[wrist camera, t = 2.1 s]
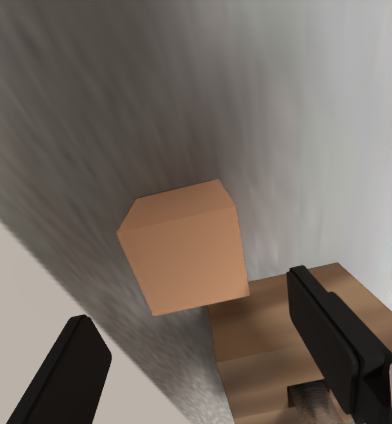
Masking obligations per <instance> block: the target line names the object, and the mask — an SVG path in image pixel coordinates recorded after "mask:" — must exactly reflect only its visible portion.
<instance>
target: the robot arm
mask: <svg viewBox="0 0 392 424" xmlns="http://www.w3.org/2000/svg"><path fill="white" fill-rule="evenodd" d="M286 276H287V289H288V302H289V314H290V318H291V321H292V323H293V324H294V326H295V328H296V330H297V331H298V333H299V335H300V337H301V338H302V340H303V342H304V344H305V346H306V347H307V349H308V351H309V353H310V354H311V356H312V358H313V360H314V361H315V363H316V365H317V367H318V368H319V370H320V372H321V374H322V375H323V377H324V379H325V381H326V382H327V384H328V386H329V388H330V389H331V391H332V393H333V395H334V396H335V398H336V400H337V402H338V403H339V405H340V407H341V409H342V410H343V412H344V413H345V414H346V415H349V414H350V415H351V416H352V418H353V420H354V422H355V423H356V424H364V423H366V424H392V352H391V351H390V350H389V349H388V348H387V347H386V346H385V345H384V344H383V343H382V342H381V340H380V339H379V338H378V337H377V336H376V335H375V334H374V333H373V332H372V331H371V330H370V329H369V328H368V327H367V326H366V325H365V323H364V322H363V321H362V320H361V319H360V318H359V317H358V316H357V315H356V314H355V313H354V312H353V311H352V310H351V309H350V308H349V306H348V305H347V304H346V303H345V302H344V301H343V300H342V299H341V298H340V297H339V296H338V295H337V294H336V293H334V292H327V291H326V289H325V288H324V287H323V286H322V285H321V284H320V283H319V282H318V280H317V279H316V278H315V277H314V276H313V275H312V274H311V273H310V272H309V270H308V269H307V268H306V267H305V266H303V265H301V266H297V267H292V268H290V272H287V273H286ZM111 360H112V355H111V352H110V350H109V349H108V347H107V345H106V344H105V342H104V340H103V339H102V337H101V335H100V333H99V332H98V330H97V328H96V327H95V325H94V323H93V322H92V320H91V318H90V317H87V316H86V315H85V314H84V315H79V316H75V317H71V318H70V319H69V320H68V322H67V324H66V325H65V327H64V328H63V330H62V332H61V334H60V335H59V337H58V339H57V340H56V342H55V343H54V345H53V347H52V349H51V350H50V352H49V353H48V355H47V357H46V359H45V360H44V362H43V363H42V365H41V367H40V368H39V370H38V372H37V373H36V375H35V377H34V378H33V380H32V382H31V383H30V385H29V387H28V388H27V390H26V392H25V393H24V395H23V397H22V398H21V400H20V402H19V403H18V405H17V407H16V408H15V410H14V412H13V413H12V415H11V416H10V418H9V420H8V421H7V423H6V424H92V422H93V419H94V416H95V413H96V409H97V406H98V403H99V400H100V396H101V393H102V390H103V387H104V384H105V380H106V377H107V373H108V370H109V367H110V364H111Z"/></svg>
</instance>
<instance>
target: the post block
mask: <svg viewBox="0 0 392 424" xmlns="http://www.w3.org/2000/svg"><path fill="white" fill-rule="evenodd" d="M308 270H309V272H310V273H311V274H312V275H313V276H314V277H315V278H316V279H317V280H318V282H319V283H320V284H321V285H322V286H323V287H324V288H325V289H326V291H327V292H334V293H336V294H337V295H338V296H339V297H340V298H341V299H342V300H343V301H344V302H345V303H346V304H347V305H348V306H349V308H350V309H351V310H352V311H353V312H354V313H355V314H356V315H357V316H358V317H359V318H360V319H361V320H362V321H363V322H364V323H365V325H366V326H367V327H368V328H369V329H370V330H371V331H372V332H373V333H374V334H375V335H376V336H377V337H378V338H379V339H380V340H381V342H382V343H383V344H384V345H385V346H386V347H387V348H388V349H389V350H390V351H391V352H392V311H391V310H390V309H389V308H387V307H386V306H385V305H384V304H383V303H382V302H381V301H380V300H379V299H378V298H376V297H375V296H374V295H373V294H372V293H371V292H370V291H369V290H368V289H366V288H365V287H364V286H363V285H362V284H361V283H360V282H359V281H358V280H357V279H355V278H354V277H353V276H352V275H351V274H350V273H349V272H348V271H347V270H346V269H344V268H343V267H342V266H341V265H340V264H339V263H334V264H329V265H325V266H320V267H316V268H311V269H308ZM248 286H249V292H250V296H246V297H241V298H237V299H232V300H227V301H223V302H218V303H214V304H209V305H208V310H209V317H210V324H211V331H212V338H213V345H214V352H215V360H216V365H217V368H218V371H219V374H220V377H221V381H222V384H223V387H224V390H225V393H226V397H227V400H228V403H229V406H230V410H231V413H232V416H233V419H234V422H235V424H302V422H301V420H300V417H299V415H298V412H297V410H296V407H295V405H294V402H293V400H292V397H291V395H290V392H289V386H291V385H296V384H301V383H306V382H310V381H315V380H320V379H321V380H322V382H323V384H324V386H325V388H326V389H327V391H328V393H329V395H330V397H331V399H332V401H333V402H334V404H335V406H336V408H337V410H338V412H339V414H340V415H341V417H342V419H343V421H344V423H347V422H352V421H354V420H353V418H352V416H351V415H350V414H349V415H346V414H345V413H344V412H343V410H342V409H341V407H340V405H339V403H338V402H337V400H336V398H335V396H334V395H333V393H332V391H331V389H330V388H329V386H328V384H327V382H326V381H325V379H324V377H323V375H322V374H321V372H320V370H319V368H318V367H317V365H316V363H315V361H314V360H313V358H312V356H311V354H310V353H309V351H308V349H307V347H306V346H305V344H304V342H303V340H302V338H301V337H300V335H299V333H298V331H297V330H296V328H295V326H294V324H293V323H292V321H291V318H290V314H289V302H288V289H287V276H286V274H284V275H279V276H275V277H270V278H266V279H261V280H257V281H252V282H248Z"/></svg>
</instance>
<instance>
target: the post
mask: <svg viewBox="0 0 392 424" xmlns="http://www.w3.org/2000/svg"><path fill="white" fill-rule="evenodd" d="M289 392H290V395H291V397H292V400H293V402H294V405H295V407H296V410H297V412H298V415H299V417H300V420H301V422H302V424H345V423H344V421H343V419H342V417H341V415H340V414H339V412H338V410H337V408H336V406H335V404H334V402H333V401H332V399H331V397H330V395H329V393H328V391H327V389H326V388H325V386H324V384H323V382H322V380H321V379H320V380H315V381H310V382H306V383H301V384H296V385H291V386H289Z"/></svg>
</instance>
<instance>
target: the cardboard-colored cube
mask: <svg viewBox="0 0 392 424" xmlns="http://www.w3.org/2000/svg"><path fill="white" fill-rule="evenodd" d="M116 235H117V237H118V239H119V241H120V244H121V246H122V248H123V250H124V253H125V255H126V257H127V259H128V261H129V264H130V266H131V268H132V270H133V272H134V275H135V277H136V279H137V281H138V283H139V286H140V288H141V290H142V292H143V295H144V297H145V299H146V301H147V303H148V306H149V308H150V310H151V312H152V314H153V317H154V316H158V315H163V314H168V313H172V312H177V311H181V310H186V309H191V308H195V307H200V306H204V305H209V304H214V303H218V302H223V301H227V300H232V299H237V298H241V297H246V296H250V292H249V286H248V279H247V273H246V267H245V260H244V254H243V248H242V242H241V235H240V229H239V223H238V216H237V210H236V205H235V204H234V202H233V201H232V199H231V197H230V196H229V194H228V193H227V191H226V190H225V188H224V186H223V185H222V183H221V182H220V180H219V179H216V180H212V181H208V182H204V183H200V184H196V185H191V186H187V187H183V188H179V189H175V190H170V191H166V192H162V193H158V194H154V195H150V196H145V197H141V198H137V199H136V200H135V202H134V204H133V206H132V207H131V209H130V211H129V212H128V214H127V216H126V217H125V219H124V221H123V223H122V224H121V226H120V228H119V229H118V231H117V233H116Z"/></svg>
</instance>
